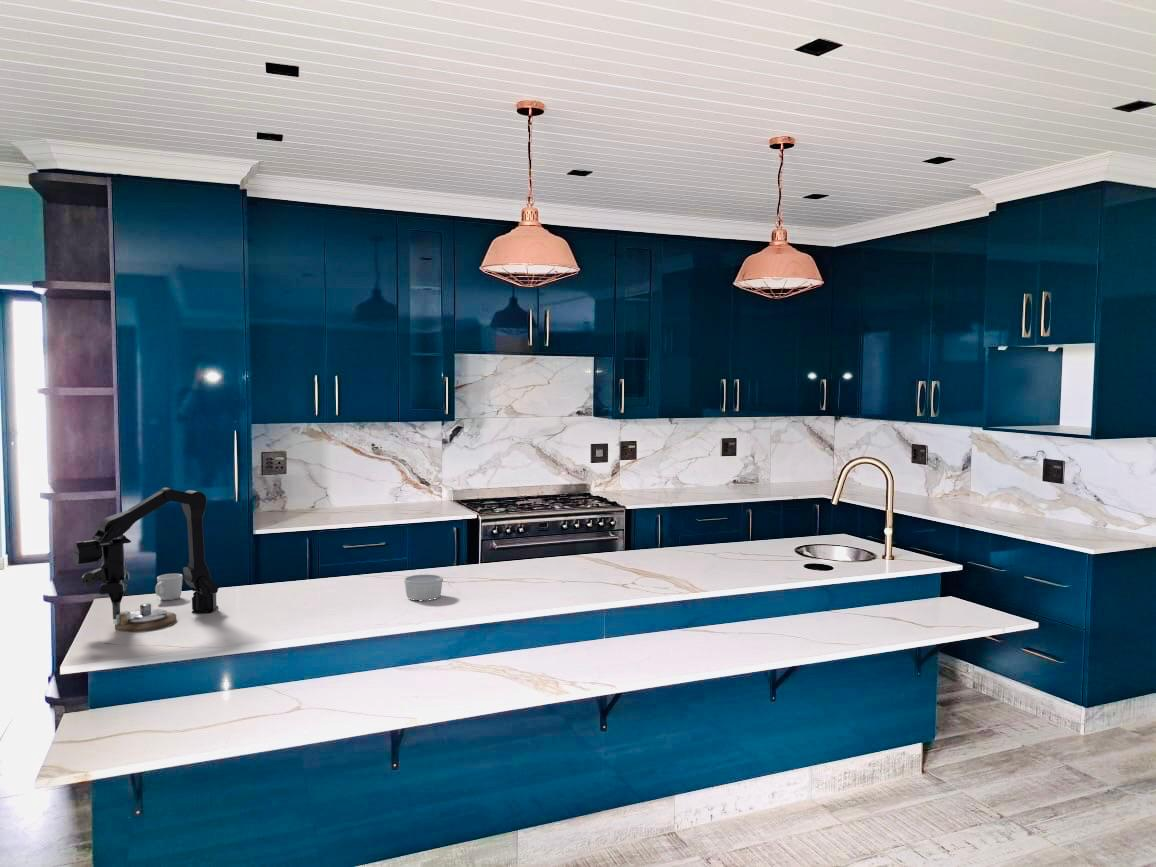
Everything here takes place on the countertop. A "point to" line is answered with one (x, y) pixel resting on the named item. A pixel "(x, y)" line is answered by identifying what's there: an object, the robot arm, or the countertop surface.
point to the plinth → (145, 624)
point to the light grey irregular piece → (138, 614)
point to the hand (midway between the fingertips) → (116, 609)
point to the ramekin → (423, 586)
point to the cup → (169, 586)
